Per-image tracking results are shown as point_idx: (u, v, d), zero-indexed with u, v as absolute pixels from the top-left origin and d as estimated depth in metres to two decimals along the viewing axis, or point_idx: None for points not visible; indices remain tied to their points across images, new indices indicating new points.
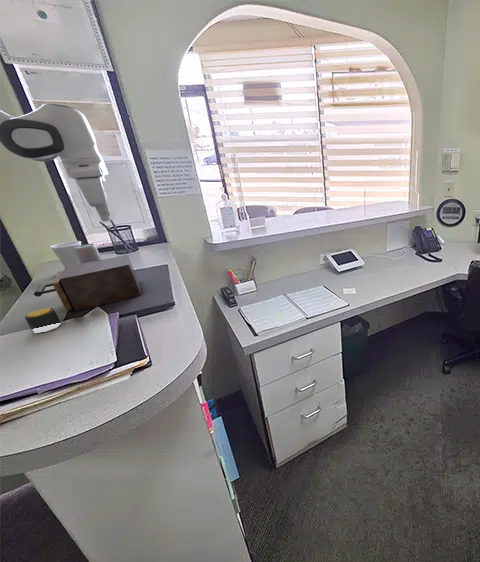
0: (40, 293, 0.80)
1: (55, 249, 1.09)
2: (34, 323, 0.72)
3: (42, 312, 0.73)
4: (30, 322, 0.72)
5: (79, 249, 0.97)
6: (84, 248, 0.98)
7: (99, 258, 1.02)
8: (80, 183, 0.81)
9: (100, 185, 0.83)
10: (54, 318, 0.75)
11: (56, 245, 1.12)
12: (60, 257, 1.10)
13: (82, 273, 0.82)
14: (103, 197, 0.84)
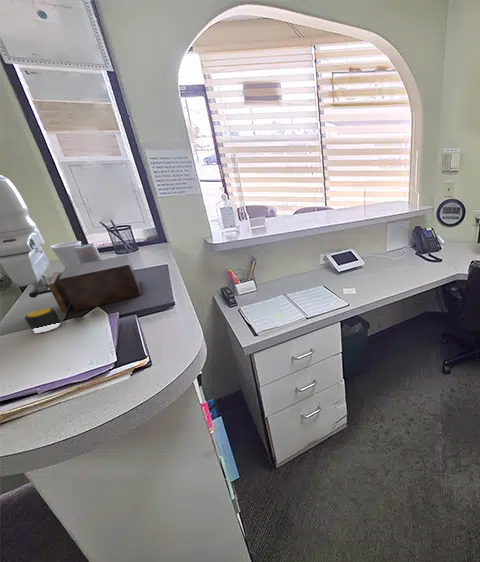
0: (35, 294, 0.79)
1: (55, 249, 1.09)
2: (34, 323, 0.72)
3: (42, 312, 0.73)
4: (30, 322, 0.72)
5: (79, 249, 0.97)
6: (84, 248, 0.98)
7: (99, 258, 1.02)
8: (3, 262, 0.70)
9: (29, 262, 0.73)
10: (54, 318, 0.75)
11: (56, 245, 1.12)
12: (60, 257, 1.10)
13: (82, 273, 0.82)
14: (33, 275, 0.73)
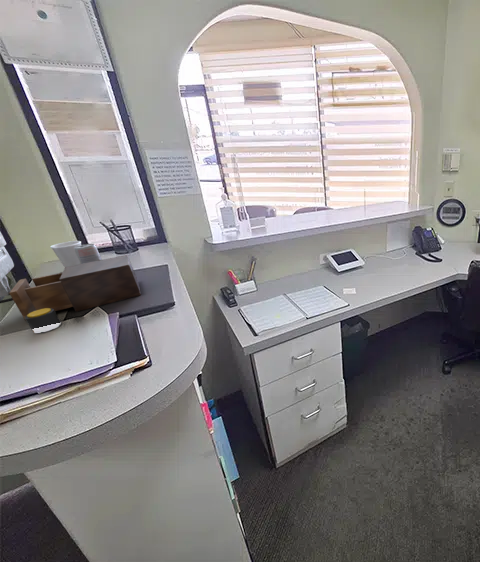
0: None
1: (55, 249, 1.09)
2: (34, 323, 0.72)
3: (42, 312, 0.73)
4: (30, 322, 0.72)
5: (79, 249, 0.97)
6: (84, 248, 0.98)
7: (99, 258, 1.02)
8: None
9: None
10: (54, 318, 0.75)
11: (56, 245, 1.12)
12: (60, 257, 1.10)
13: (82, 273, 0.82)
14: None
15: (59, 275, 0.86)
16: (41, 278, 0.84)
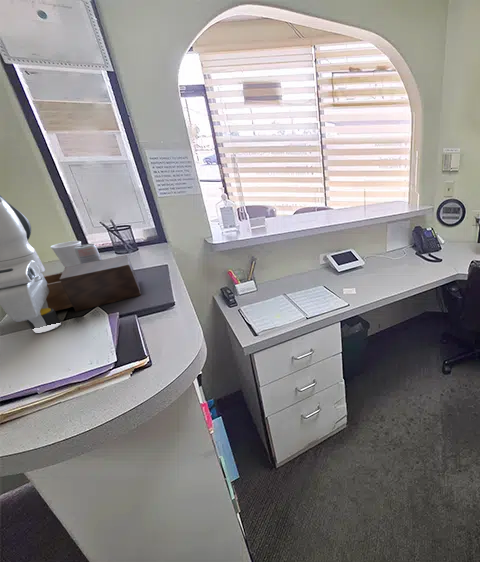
0: None
1: (55, 249, 1.09)
2: None
3: (42, 312, 0.73)
4: (30, 322, 0.72)
5: (79, 249, 0.97)
6: (84, 248, 0.98)
7: (99, 258, 1.02)
8: None
9: (27, 295, 0.65)
10: (55, 318, 0.75)
11: (56, 245, 1.12)
12: (60, 257, 1.10)
13: (82, 273, 0.82)
14: (32, 309, 0.65)
15: (59, 275, 0.86)
16: None
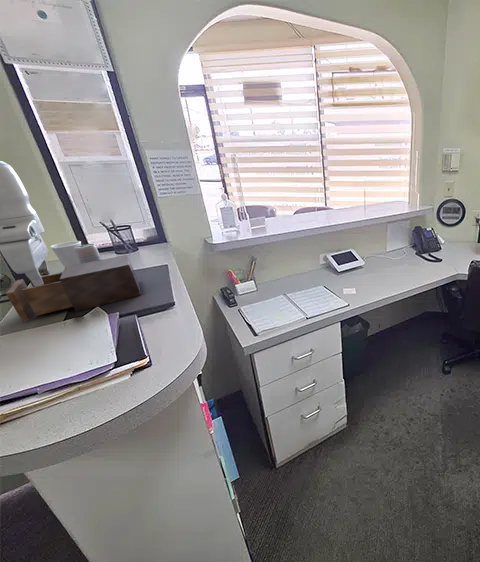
0: None
1: (55, 249, 1.09)
2: None
3: None
4: None
5: (79, 249, 0.97)
6: (84, 248, 0.98)
7: (99, 258, 1.02)
8: (2, 249, 0.70)
9: (28, 250, 0.72)
10: None
11: (56, 245, 1.12)
12: (60, 257, 1.10)
13: (82, 273, 0.82)
14: (32, 263, 0.73)
15: (56, 276, 0.86)
16: None
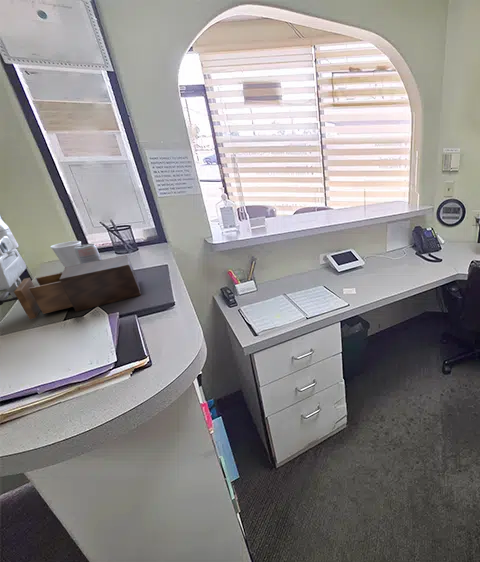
0: (1, 302, 0.76)
1: (55, 249, 1.09)
2: None
3: None
4: None
5: (79, 249, 0.97)
6: (84, 248, 0.98)
7: (99, 258, 1.02)
8: None
9: None
10: None
11: (56, 245, 1.12)
12: (60, 257, 1.10)
13: (82, 273, 0.82)
14: (4, 280, 0.71)
15: None
16: (45, 277, 0.85)
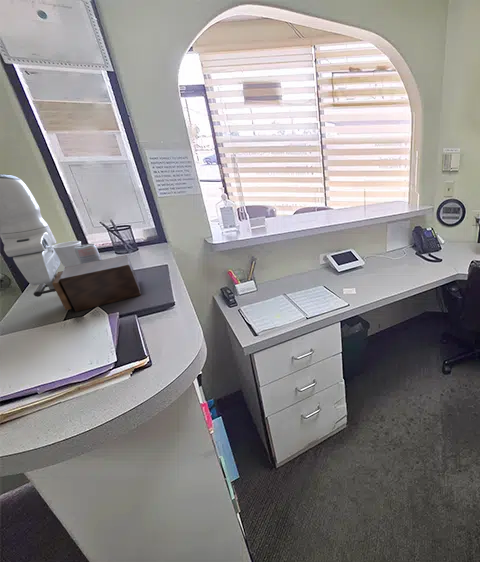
0: (40, 293, 0.80)
1: (55, 249, 1.09)
2: None
3: None
4: None
5: (79, 249, 0.97)
6: (84, 248, 0.98)
7: (99, 258, 1.02)
8: (18, 262, 0.72)
9: (42, 261, 0.74)
10: None
11: (56, 245, 1.12)
12: (60, 257, 1.10)
13: (82, 273, 0.82)
14: (46, 274, 0.75)
15: None
16: None
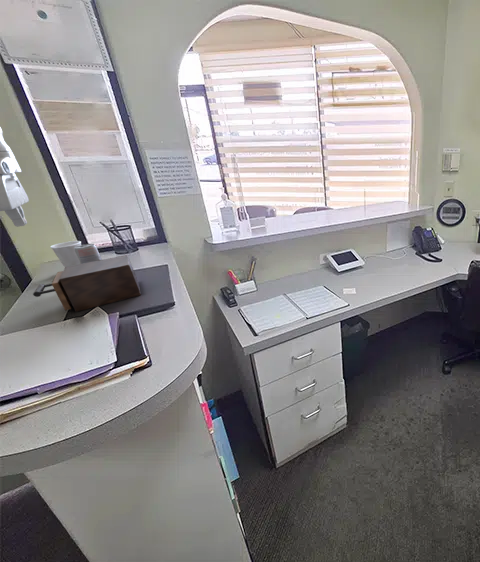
0: (39, 293, 0.79)
1: (55, 249, 1.09)
2: None
3: None
4: None
5: (79, 249, 0.97)
6: (84, 248, 0.98)
7: (99, 258, 1.02)
8: None
9: (1, 185, 0.67)
10: None
11: (56, 245, 1.12)
12: (60, 257, 1.10)
13: (82, 273, 0.82)
14: (6, 200, 0.67)
15: None
16: None
